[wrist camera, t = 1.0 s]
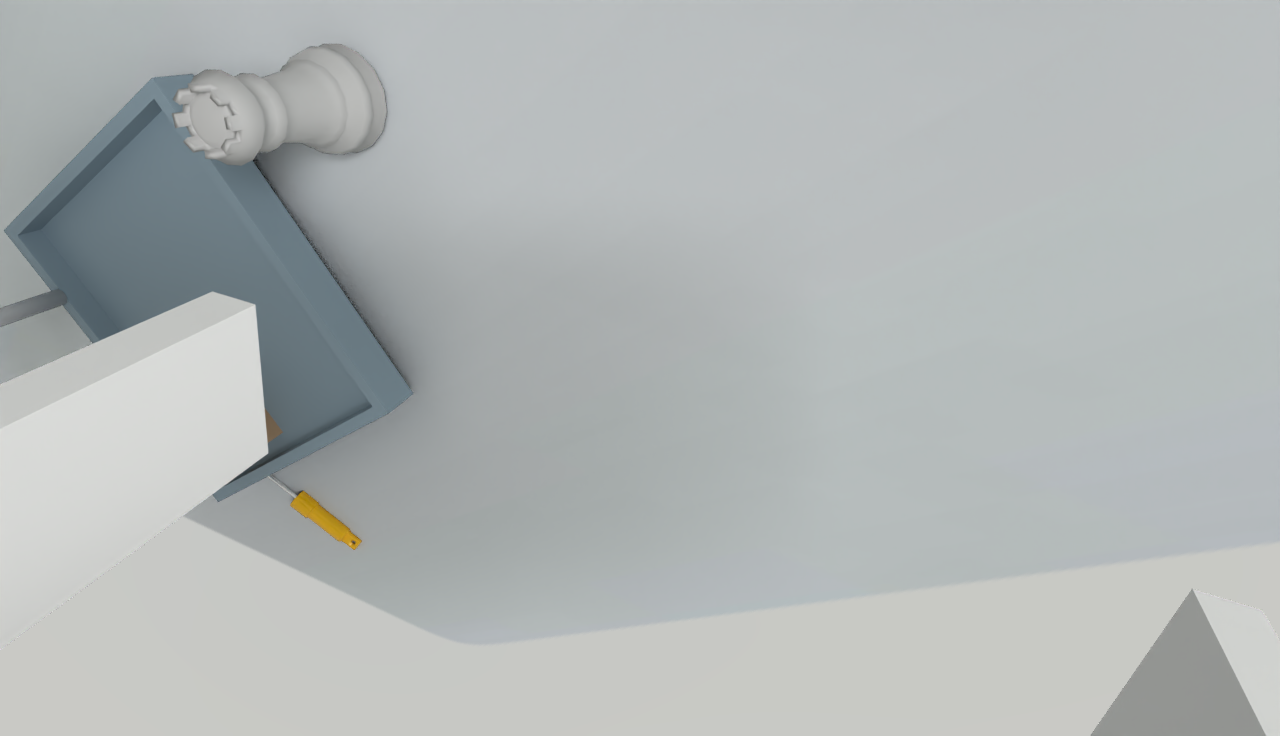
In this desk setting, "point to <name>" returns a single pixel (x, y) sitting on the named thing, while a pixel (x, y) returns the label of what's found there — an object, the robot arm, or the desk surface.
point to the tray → (203, 271)
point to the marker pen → (320, 516)
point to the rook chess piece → (285, 107)
